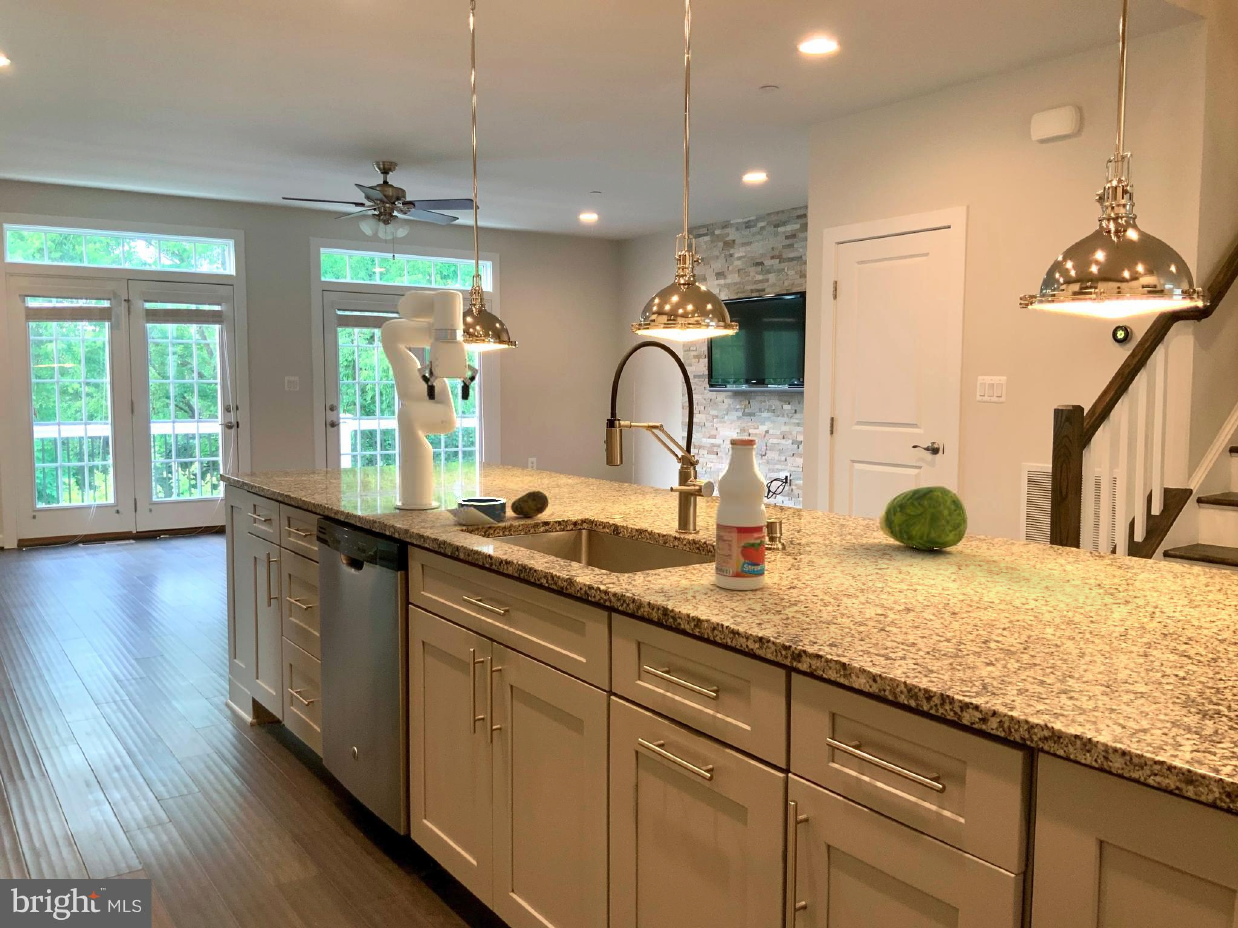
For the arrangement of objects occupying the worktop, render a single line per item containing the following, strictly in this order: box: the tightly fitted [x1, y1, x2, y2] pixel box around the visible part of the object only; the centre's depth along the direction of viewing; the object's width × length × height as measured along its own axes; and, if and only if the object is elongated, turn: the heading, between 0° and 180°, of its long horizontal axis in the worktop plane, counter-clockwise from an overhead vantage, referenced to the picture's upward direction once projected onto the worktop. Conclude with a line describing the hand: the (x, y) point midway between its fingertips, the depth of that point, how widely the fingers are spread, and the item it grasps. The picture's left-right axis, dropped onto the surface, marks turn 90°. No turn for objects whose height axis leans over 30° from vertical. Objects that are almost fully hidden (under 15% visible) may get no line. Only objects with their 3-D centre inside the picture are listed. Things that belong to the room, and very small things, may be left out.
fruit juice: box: [714, 438, 767, 591], centre depth 176 cm, size 9×9×28 cm
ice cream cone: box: [446, 506, 498, 526], centre depth 248 cm, size 5×5×15 cm
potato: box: [510, 490, 550, 518], centre depth 263 cm, size 8×13×8 cm, turn 27°
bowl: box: [456, 497, 507, 523], centre depth 257 cm, size 13×13×6 cm
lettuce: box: [878, 485, 968, 552], centre depth 220 cm, size 16×21×15 cm
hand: (448, 399), depth 253 cm, fingers open, 9 cm apart
